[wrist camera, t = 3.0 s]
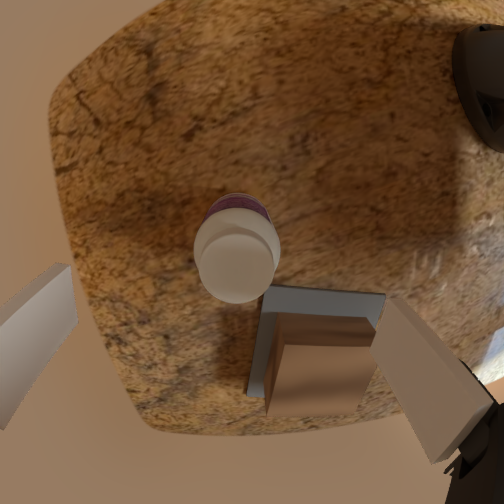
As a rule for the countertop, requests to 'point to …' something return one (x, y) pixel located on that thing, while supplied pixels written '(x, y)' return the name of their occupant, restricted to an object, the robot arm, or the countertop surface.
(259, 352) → the mat
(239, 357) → the countertop surface
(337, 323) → the base block
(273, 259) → the pill bottle
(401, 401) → the robot arm
